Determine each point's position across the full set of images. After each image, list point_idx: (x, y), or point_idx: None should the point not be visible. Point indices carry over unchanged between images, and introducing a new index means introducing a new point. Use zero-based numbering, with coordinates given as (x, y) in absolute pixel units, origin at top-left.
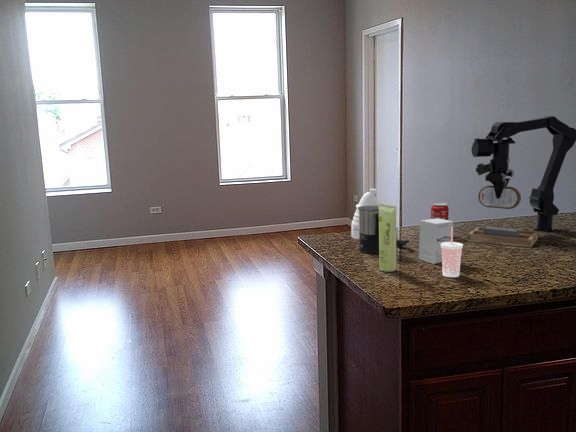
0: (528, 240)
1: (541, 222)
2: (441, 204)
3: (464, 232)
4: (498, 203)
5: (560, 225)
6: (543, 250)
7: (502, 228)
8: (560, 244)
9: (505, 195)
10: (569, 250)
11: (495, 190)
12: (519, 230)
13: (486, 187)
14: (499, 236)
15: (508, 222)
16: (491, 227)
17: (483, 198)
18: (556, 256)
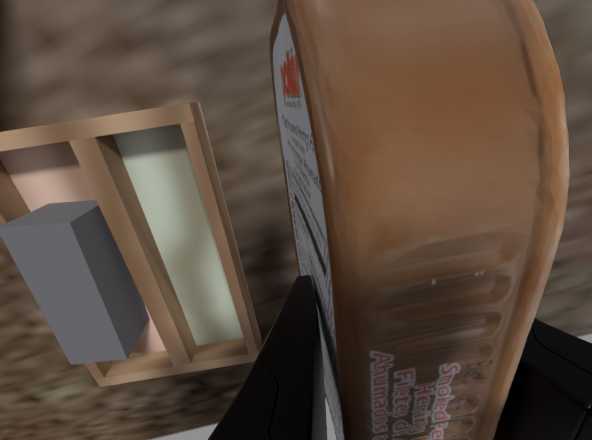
0: (98, 377)
1: None
2: None
3: (175, 11)
4: (303, 258)
5: (547, 318)
6: (103, 396)
7: (86, 302)
8: (223, 401)
9: (329, 376)
10: (163, 433)
11: (263, 360)
12: (243, 305)
13: (320, 182)
14: None
15: (580, 127)
16: (60, 253)
17: (287, 96)
18: (63, 434)
